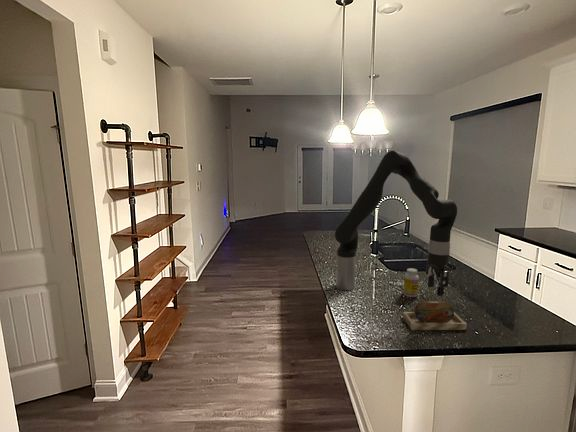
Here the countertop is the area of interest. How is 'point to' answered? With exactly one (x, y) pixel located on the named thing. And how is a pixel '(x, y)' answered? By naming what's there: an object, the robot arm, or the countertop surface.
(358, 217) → the robot arm
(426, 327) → the tray
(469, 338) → the countertop surface
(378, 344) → the countertop surface
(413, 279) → the supplement bottle
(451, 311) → the tin
